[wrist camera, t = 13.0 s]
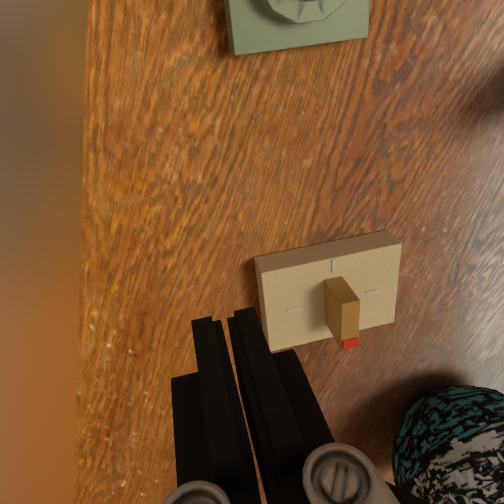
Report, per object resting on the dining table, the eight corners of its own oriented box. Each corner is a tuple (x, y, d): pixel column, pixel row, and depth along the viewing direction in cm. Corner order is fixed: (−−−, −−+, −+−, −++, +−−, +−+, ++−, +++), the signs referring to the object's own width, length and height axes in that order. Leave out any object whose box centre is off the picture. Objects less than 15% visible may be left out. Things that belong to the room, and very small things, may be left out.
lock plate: (262, 333, 45) (270, 353, 42) (253, 257, 39) (261, 274, 37) (380, 305, 46) (394, 323, 44) (386, 229, 41) (403, 244, 39)
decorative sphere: (515, 383, 61) (657, 524, 44) (416, 462, 66) (508, 616, 49) (446, 330, 51) (592, 485, 34) (336, 428, 57) (416, 604, 40)
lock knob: (324, 279, 39) (342, 306, 35) (342, 275, 39) (361, 301, 36) (325, 323, 42) (341, 351, 38) (341, 319, 42) (359, 347, 38)
